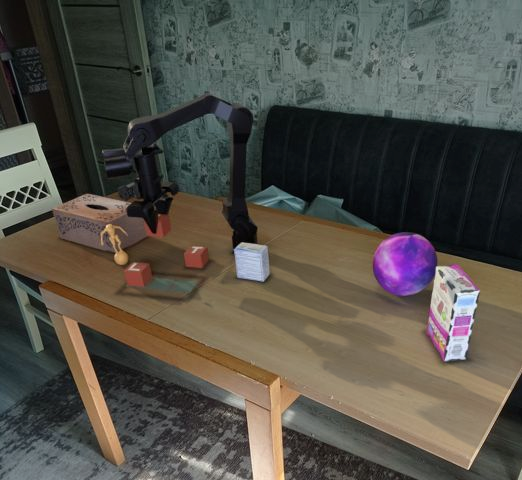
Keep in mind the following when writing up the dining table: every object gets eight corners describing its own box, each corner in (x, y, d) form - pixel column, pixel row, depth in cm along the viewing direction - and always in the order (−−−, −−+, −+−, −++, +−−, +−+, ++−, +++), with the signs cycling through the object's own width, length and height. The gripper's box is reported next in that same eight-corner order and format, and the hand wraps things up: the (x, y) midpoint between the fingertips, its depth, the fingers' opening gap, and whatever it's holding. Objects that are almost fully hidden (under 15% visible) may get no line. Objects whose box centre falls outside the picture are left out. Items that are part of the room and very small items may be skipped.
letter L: (152, 278, 146) (149, 263, 143) (144, 287, 142) (140, 271, 139) (136, 276, 147) (132, 261, 144) (127, 285, 143) (123, 270, 141)
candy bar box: (467, 360, 109) (481, 290, 99) (443, 362, 109) (455, 293, 99) (447, 329, 118) (458, 262, 108) (425, 332, 118) (434, 265, 108)
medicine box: (270, 274, 144) (268, 245, 139) (263, 282, 141) (261, 252, 135) (244, 270, 147) (241, 241, 142) (236, 278, 143) (233, 248, 138)
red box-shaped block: (171, 229, 148) (168, 214, 145) (163, 237, 144) (160, 221, 141) (155, 228, 149) (152, 213, 146) (147, 236, 145) (143, 220, 143)
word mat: (204, 277, 145) (204, 276, 145) (187, 300, 136) (187, 298, 135) (139, 271, 150) (139, 270, 150) (118, 293, 141) (117, 291, 141)
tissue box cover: (149, 235, 170) (142, 205, 164) (115, 253, 161) (108, 222, 155) (94, 221, 183) (86, 193, 177) (60, 238, 173) (51, 208, 167)
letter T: (209, 261, 153) (207, 246, 150) (202, 269, 149) (200, 254, 146) (193, 259, 154) (190, 245, 151) (186, 268, 150) (183, 253, 148)
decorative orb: (431, 310, 124) (440, 251, 116) (367, 304, 129) (370, 247, 120) (434, 279, 136) (442, 223, 127) (375, 274, 140) (378, 220, 131)
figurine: (113, 271, 152) (103, 232, 145) (103, 265, 155) (93, 226, 148) (138, 261, 156) (130, 222, 149) (128, 255, 160) (119, 217, 152)
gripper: (137, 160, 146) (148, 214, 155) (101, 183, 132) (115, 242, 141) (174, 161, 143) (183, 216, 152) (141, 185, 129) (153, 245, 138)
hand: (158, 229), depth 146 cm, fingers closed on red box-shaped block, 5 cm apart
